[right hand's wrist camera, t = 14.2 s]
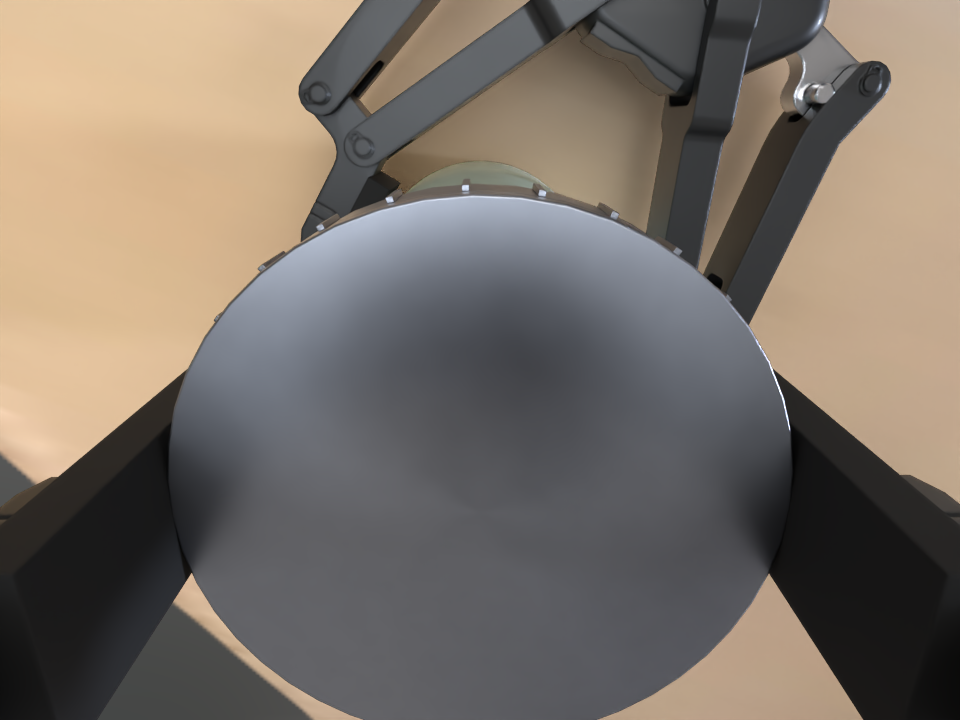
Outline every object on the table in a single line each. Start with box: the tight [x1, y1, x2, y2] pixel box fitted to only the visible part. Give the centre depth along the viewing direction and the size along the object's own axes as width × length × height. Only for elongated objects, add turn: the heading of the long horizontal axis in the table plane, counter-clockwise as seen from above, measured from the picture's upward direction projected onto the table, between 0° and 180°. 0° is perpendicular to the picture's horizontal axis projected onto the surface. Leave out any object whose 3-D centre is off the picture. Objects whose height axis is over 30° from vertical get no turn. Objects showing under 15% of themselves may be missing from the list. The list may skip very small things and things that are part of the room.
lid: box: [167, 179, 794, 720], centre depth 11 cm, size 10×10×2 cm
